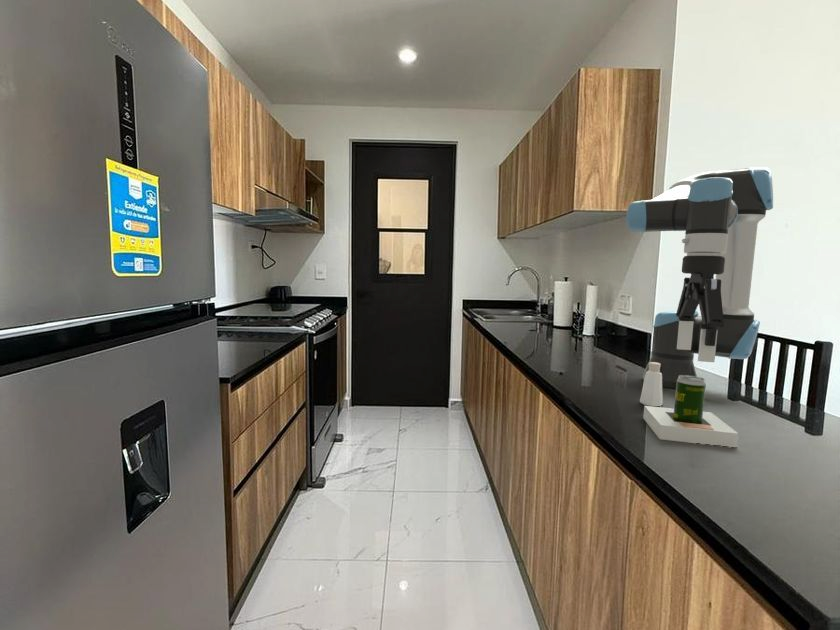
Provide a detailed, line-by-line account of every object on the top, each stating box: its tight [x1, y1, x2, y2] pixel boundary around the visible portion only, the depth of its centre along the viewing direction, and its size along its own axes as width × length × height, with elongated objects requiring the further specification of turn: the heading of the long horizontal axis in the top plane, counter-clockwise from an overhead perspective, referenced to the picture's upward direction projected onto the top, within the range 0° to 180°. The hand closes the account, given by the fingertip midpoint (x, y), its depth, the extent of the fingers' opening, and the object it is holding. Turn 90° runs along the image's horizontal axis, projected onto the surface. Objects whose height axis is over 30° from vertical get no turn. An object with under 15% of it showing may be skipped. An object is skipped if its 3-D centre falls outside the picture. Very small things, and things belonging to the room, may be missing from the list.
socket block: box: [642, 405, 739, 448], centre depth 97 cm, size 14×14×3 cm
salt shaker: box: [639, 361, 664, 407], centre depth 117 cm, size 5×5×11 cm
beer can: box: [673, 375, 707, 424], centre depth 96 cm, size 5×5×12 cm
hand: (694, 355), depth 95 cm, fingers open, 13 cm apart
